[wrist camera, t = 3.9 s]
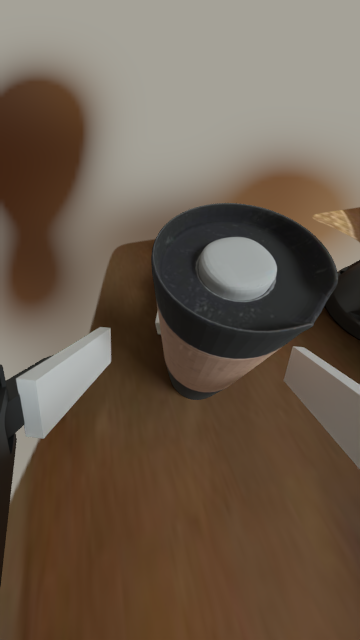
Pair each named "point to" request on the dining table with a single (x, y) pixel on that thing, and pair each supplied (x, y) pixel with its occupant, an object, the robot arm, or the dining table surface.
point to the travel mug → (234, 291)
